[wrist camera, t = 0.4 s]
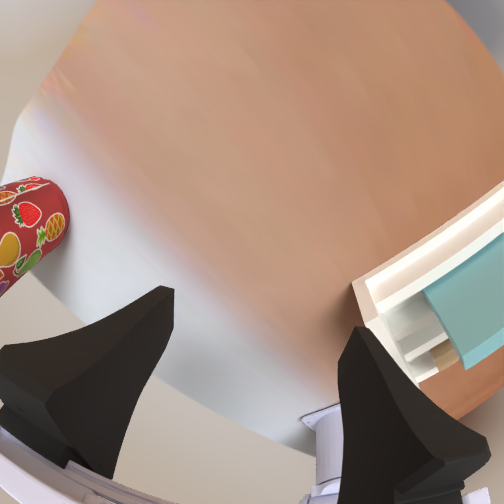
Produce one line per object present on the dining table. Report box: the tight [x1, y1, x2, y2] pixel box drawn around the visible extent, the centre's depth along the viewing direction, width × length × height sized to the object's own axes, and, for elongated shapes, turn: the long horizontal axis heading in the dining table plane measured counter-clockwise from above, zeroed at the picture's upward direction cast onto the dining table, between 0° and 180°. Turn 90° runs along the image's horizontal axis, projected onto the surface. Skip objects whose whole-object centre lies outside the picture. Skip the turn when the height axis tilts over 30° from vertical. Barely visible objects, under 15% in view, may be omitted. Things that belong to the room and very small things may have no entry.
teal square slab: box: [421, 232, 504, 370], centre depth 14 cm, size 2×8×8 cm, turn 127°
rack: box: [351, 180, 504, 389], centre depth 18 cm, size 12×17×5 cm
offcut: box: [429, 338, 460, 372], centre depth 20 cm, size 2×5×3 cm, turn 127°
